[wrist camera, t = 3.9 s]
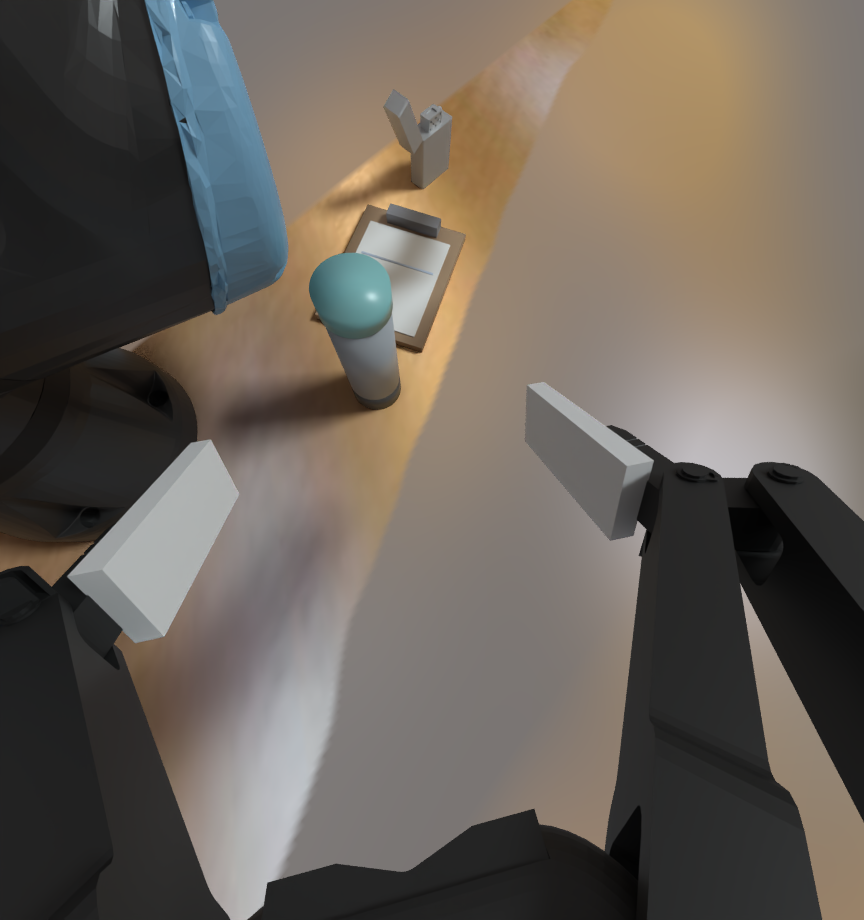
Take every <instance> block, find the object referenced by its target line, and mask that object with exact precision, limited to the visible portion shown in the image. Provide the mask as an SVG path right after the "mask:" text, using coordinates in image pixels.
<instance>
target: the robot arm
mask: <svg viewBox="0 0 864 920" xmlns="http://www.w3.org/2000/svg"><path fill="white" fill-rule="evenodd" d="M287 258H288V239H287V232H286V226H285V221H284V216H283V212H282V208H281V204H280V200H279V196H278V192H277V188H276V185H275V181H274V178H273V174H272V170H271V167H270V164H269V160H268V157H267V153H266V150H265V147H264V143H263V140H262V137H261V134H260V131H259V127H258V124H257V121H256V118H255V115H254V112H253V109H252V105H251V102H250V100H249V96H248V93H247V90H246V87H245V84H244V81H243V78H242V75H241V73H240V70H239V67H238V64H237V61H236V59H235V56H234V53H233V50H232V47H231V44H230V42H229V39H228V37H227V36H226V34H225V32H224V31H223V30H222V28H221V26H220V24H219V22H218V14H217V10H216V7H215V5H214V2H213V0H0V532H2V533H5V534H8V535H11V536H14V537H17V538H22V539H27V540H33V541H42V542H85V541H93V540H95V541H94V544H93V545H91V546H90V547H89V548H88V549H87V550H86V551H85V552H84V555H81V556H80V557H79V558H78V559H77V561H76V562H75V563H74V564H73V565H72V566H71V567H70V568H69V569H68V570H67V571H66V572H65V573H64V574H63V575H62V576H61V578H60V579H59V580H58V581H57V582H56V583H55V584H54V585H53V586H52V587H51V586H50V585H49V584H48V583H47V582H46V581H45V580H43V579H42V578H41V577H40V576H39V575H38V574H37V573H36V572H35V571H34V570H33V569H31V568H30V567H29V566H19V567H15V568H11V569H7V570H5V571H2V572H0V920H230V918H229V917H228V915H227V913H226V912H225V911H224V910H223V909H222V907H221V906H220V905H219V904H218V903H217V901H216V900H215V899H214V897H213V895H212V894H211V892H210V890H209V888H208V885H207V883H206V880H205V878H204V875H203V872H202V869H201V867H200V864H199V861H198V858H197V856H196V853H195V850H194V848H193V845H192V842H191V839H190V837H189V834H188V831H187V828H186V826H185V823H184V820H183V818H182V815H181V812H180V809H179V807H178V804H177V801H176V798H175V796H174V793H173V790H172V787H171V785H170V782H169V779H168V777H167V774H166V771H165V768H164V766H163V763H162V760H161V757H160V755H159V752H158V749H157V747H156V744H155V741H154V738H153V736H152V733H151V730H150V727H149V725H148V722H147V719H146V716H145V714H144V711H143V708H142V706H141V703H140V700H139V697H138V695H137V692H136V689H135V686H134V684H133V681H132V678H131V676H130V673H129V670H128V667H127V665H126V662H125V659H124V656H123V654H122V651H121V650H120V649H119V648H118V647H117V646H115V645H114V642H115V641H116V639H117V638H118V636H119V634H120V633H121V631H123V632H124V633H125V634H126V635H127V636H128V637H130V638H131V639H132V640H133V641H134V642H135V643H138V642H142V641H147V640H152V639H156V638H161V637H164V636H165V635H166V633H167V631H168V629H169V627H170V625H171V623H172V621H173V619H174V617H175V616H176V614H177V612H178V610H179V608H180V606H181V604H182V602H183V600H184V598H185V596H186V595H187V593H188V591H189V589H190V587H191V585H192V583H193V581H194V579H195V577H196V576H197V574H198V572H199V570H200V568H201V566H202V564H203V562H204V560H205V558H206V557H207V555H208V553H209V551H210V549H211V547H212V545H213V543H214V541H215V539H216V538H217V536H218V534H219V532H220V530H221V528H222V526H223V524H224V522H225V520H226V519H227V517H228V515H229V513H230V511H231V509H232V507H233V505H234V503H235V501H236V499H237V498H238V496H239V492H238V491H237V489H236V487H235V485H234V483H233V481H232V479H231V477H230V475H229V473H228V471H227V469H226V468H225V466H224V464H223V462H222V460H221V458H220V456H219V454H218V452H217V450H216V448H215V447H214V445H213V443H212V441H211V439H210V440H204V441H199V442H197V421H196V415H195V411H194V408H193V405H192V403H191V401H190V398H189V397H188V395H187V393H186V392H185V390H184V389H183V387H182V386H181V385H180V384H179V383H178V382H177V381H176V380H175V379H174V378H173V377H172V376H170V375H169V374H168V373H166V372H165V371H163V370H162V369H160V368H159V367H157V366H156V365H154V364H153V363H151V362H150V361H148V360H147V359H145V358H143V357H141V356H139V355H137V354H135V353H132V352H130V351H127V350H124V349H121V348H119V347H122V346H124V345H127V344H129V343H132V342H135V341H137V340H140V339H142V338H145V337H147V336H150V335H152V334H155V333H157V332H160V331H162V330H165V329H167V328H170V327H172V326H175V325H177V324H180V323H182V322H185V321H187V320H190V319H192V318H195V317H197V316H200V315H202V314H205V313H207V312H210V311H212V312H213V314H214V315H218V314H221V313H222V312H224V311H225V309H226V307H227V305H228V304H231V303H233V302H235V301H237V300H239V299H242V298H244V297H246V296H248V295H250V294H253V293H255V292H257V291H259V290H261V289H264V288H266V287H268V286H270V285H272V284H273V283H274V282H276V281H277V280H278V279H279V278H280V277H281V275H282V273H283V271H284V268H285V266H286V264H287ZM526 396H527V397H526V423H525V442H526V443H527V444H528V445H529V446H530V448H531V449H532V450H533V451H534V452H535V453H536V454H537V456H538V457H539V458H540V459H541V460H542V462H543V463H544V464H545V465H546V466H547V467H548V469H549V470H550V471H551V472H552V473H553V474H554V476H555V477H556V478H557V479H558V480H559V481H560V483H561V484H562V485H563V486H564V487H565V489H566V490H567V491H568V492H569V493H570V494H571V496H572V497H573V498H574V499H575V500H576V501H577V502H578V504H579V505H580V506H581V507H582V508H583V510H584V511H585V512H586V513H587V514H588V515H589V517H590V518H591V519H592V520H593V521H594V522H595V523H596V525H597V526H598V527H599V528H600V529H601V531H602V532H603V533H604V534H605V535H606V536H607V538H608V539H609V540H616V539H620V538H625V537H630V536H633V535H634V531H635V528H636V524H637V521H639V522H640V523H641V524H642V525H643V526H644V527H645V528H646V529H647V530H646V533H645V536H644V540H643V543H642V546H641V550H640V553H639V556H642V560H641V569H640V579H639V588H638V597H637V605H636V614H635V623H634V632H633V641H632V650H631V658H630V668H629V676H628V686H627V694H626V703H625V712H624V722H623V730H622V739H621V748H620V757H619V765H618V774H617V781H616V786H615V791H614V795H613V800H612V804H611V809H610V815H609V821H608V828H607V836H606V844H605V851H603V850H602V849H600V848H599V847H597V846H596V845H594V844H592V843H591V842H589V841H588V840H586V839H584V838H582V837H580V836H577V835H576V834H573V833H571V832H569V831H566V830H563V829H559V828H556V827H553V826H547V825H539V823H538V820H537V817H536V813H535V810H534V809H531V810H528V811H524V812H521V813H517V814H513V815H510V816H506V817H503V818H499V819H496V820H492V821H488V822H485V823H481V824H477V825H474V826H471V827H470V828H469V829H467V830H466V831H464V832H463V833H462V834H460V835H459V836H458V837H456V838H455V839H453V840H452V841H451V842H449V843H448V844H446V845H445V846H444V847H442V848H441V849H439V850H438V851H437V852H435V853H434V854H433V855H431V856H430V857H428V858H427V859H426V860H424V861H423V862H421V863H420V864H419V865H417V866H416V867H414V868H413V869H411V870H409V871H406V872H396V871H388V870H381V869H373V868H365V867H357V866H349V865H341V864H333V865H330V866H326V867H323V868H319V869H316V870H312V871H309V872H305V873H301V874H298V875H294V876H290V877H287V878H283V879H279V880H276V881H272V882H269V883H267V889H266V895H265V902H264V906H263V907H262V908H260V909H259V910H258V911H257V912H256V913H255V914H253V915H252V916H251V917H250V918H249V919H248V920H822V917H821V912H820V907H819V902H818V897H817V892H816V886H815V881H814V876H813V872H812V866H811V861H810V857H809V852H808V847H807V842H806V837H805V832H804V828H803V824H802V821H801V817H800V814H799V810H798V807H797V806H796V804H795V802H794V800H793V798H792V796H791V794H790V792H789V791H787V790H786V789H785V788H784V787H782V786H781V785H780V784H779V783H777V782H776V781H775V779H774V777H773V775H772V773H771V770H770V766H769V762H768V756H767V750H766V743H765V737H764V731H763V725H762V718H761V712H760V706H759V699H758V694H757V687H756V681H755V675H754V669H753V662H752V656H751V649H750V643H749V637H748V631H747V624H746V618H745V612H744V606H743V600H742V593H741V587H740V583H741V585H742V587H743V589H744V591H745V593H746V595H747V597H748V599H749V601H750V603H751V604H752V606H753V609H754V611H755V612H756V614H757V616H758V618H759V620H760V622H761V624H762V626H763V628H764V630H765V632H766V634H767V636H768V638H769V640H770V642H771V643H772V645H773V647H774V649H775V651H776V653H777V655H778V657H779V659H780V661H781V663H782V665H783V667H784V669H785V670H786V672H787V674H788V676H789V678H790V680H791V682H792V684H793V686H794V688H795V690H796V692H797V694H798V696H799V697H800V700H801V701H802V703H803V705H804V707H805V709H806V711H807V713H808V715H809V717H810V719H811V721H812V723H813V724H814V726H815V729H816V730H817V732H818V734H819V736H820V738H821V740H822V742H823V744H824V746H825V748H826V750H827V752H828V754H829V756H830V758H831V760H832V761H833V763H834V765H835V767H836V769H837V771H838V773H839V775H840V777H841V779H842V781H843V783H844V785H845V787H846V788H847V790H848V792H849V794H850V796H851V798H852V800H853V802H854V804H855V806H856V808H857V810H858V812H859V814H860V816H861V817H862V819H863V821H864V521H863V520H862V519H861V518H859V516H858V515H856V514H855V513H854V512H853V511H852V510H851V509H850V508H849V507H848V506H847V505H846V504H845V503H844V502H843V501H842V500H841V499H840V498H838V496H837V495H835V494H834V493H833V492H832V491H831V490H830V489H829V488H828V487H827V486H826V485H825V484H824V483H823V482H822V481H821V480H820V479H819V478H818V477H816V476H815V475H813V474H812V473H810V472H808V471H806V470H804V469H801V468H799V467H798V466H794V465H790V464H786V463H775V462H764V463H759V464H756V465H754V466H753V468H752V469H751V472H750V474H749V476H748V478H722V477H721V475H719V474H718V473H717V472H715V471H714V470H712V469H710V468H708V467H705V466H702V465H698V464H694V463H685V462H680V463H673V462H672V461H670V460H669V459H667V458H666V457H664V456H663V455H661V454H660V453H658V452H657V451H655V450H654V449H653V448H651V447H650V446H648V445H645V443H644V442H642V441H640V440H639V439H636V437H635V436H633V435H632V434H630V433H629V432H627V431H626V430H623V429H620V428H618V427H615V426H612V425H610V426H604V425H603V424H602V423H600V422H599V421H598V420H596V419H595V418H593V417H592V416H591V415H589V414H588V413H586V412H585V411H584V410H582V409H581V408H579V407H578V406H576V405H575V404H574V403H572V402H571V401H570V400H568V399H567V398H565V397H564V396H563V395H561V394H560V393H558V392H557V391H556V390H554V389H553V388H552V387H550V386H549V385H547V384H546V383H545V382H541V383H535V384H529V385H527V395H526Z"/></svg>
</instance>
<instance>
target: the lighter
mask: <svg viewBox="0 0 864 920" xmlns="http://www.w3.org/2000/svg"><path fill="white" fill-rule="evenodd" d="M384 110H385V112H386V114H387V116H388V119H389V121H390V123H391V126H392V128H393V130H394V132H395V135H396V137H397V139H398V141H399V144H400V145H401V146H402V147H403V148H404V149H406V150H407V151H408V152H410V153H411V182H413V183H414V184H415V185H417V186H418V187H420V188H421V189H424V188H426V187H427V186H428V185H429V184H430V183H431V182H433V181H434V180H435V179H436V178H437V177H439V176H440V175H441V174H442V173H443V172H444V171H446V170H447V169H448V165H449V152H450V139H451V126H452V116H450V115H449V114H447V113H446V112H444V111H443V110H442V107H440V106H436V105H434V104H432V105H431V106H430V107H428V108H427V109H426V110H425V111H423V112H422V113H421V114H420V123H419V124H418V125H417V122H416V119H415V117H414V114H413V111H412V108H411V105H410V102H409V101H408V99H407V98H405V97H404V96H403V95H401V94H400V93H398V92H397V91H395V90H393V91H392V93H391V94H390V96H389V98H388V100H387V101H386V103H385V105H384Z"/></svg>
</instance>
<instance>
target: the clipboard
mask: <svg viewBox="0 0 864 920" xmlns="http://www.w3.org/2000/svg"><path fill="white" fill-rule="evenodd" d="M465 236H466V234H463V233H460V232H457V231H453V230H450V229H447V228H443V227H441V219H440V218H437V217H434V216H430V215H427V214H424V213H420V212H417V211H414V210H410V209H407V208H404V207H401V206H397V205H394V204H390V206H389V208H388V210H384V209H381V208H378V207H374V206H371V205H367V207H366V209H365V211H364V213H363V216H362V218H361V220H360V222H359V224H358V226H357V228H356V230H355V232H354V234H353V236H352V238H351V240H350V242H349V244H348V247H347V249H346V251H345V253H360V254H364V255H367V256H370V257H372V258H373V259H375V260H377V261H378V262H379V263H380V264H381V265H382V266H383V267H384V268H385V270H386V271H387V273H388V275H389V278H390V283H391V292H392V301H393V310H392V316H393V325H394V333H395V342H396V344H398V345H401V346H404V347H407V348H410V349H413V350H416V351H420V352H422V351H423V348H424V346H425V343H426V340H427V338H428V335H429V332H430V330H431V327H432V325H433V322H434V319H435V317H436V314H437V312H438V309H439V306H440V304H441V301H442V298H443V296H444V293H445V291H446V288H447V285H448V283H449V280H450V278H451V275H452V272H453V270H454V267H455V264H456V262H457V259H458V257H459V254H460V251H461V249H462V246H463V244H464V241H465ZM315 316H316V318H317V319H320V318H319V315H318V313H317V311H316V313H315Z"/></svg>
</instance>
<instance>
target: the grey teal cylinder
mask: <svg viewBox="0 0 864 920" xmlns="http://www.w3.org/2000/svg"><path fill="white" fill-rule="evenodd" d="M309 293H310V297H311V299H312V302H313V304H314V306H315V309H316V311H317V313H318V315H319V318H320V320H321V322H322V323H323V325H324V326H325V327H326V329H327V331H328V334H329V336H330V338H331V341H332V343H333V345H334V348H335V350H336V352H337V354H338V357H339V359H340V361H341V364H342V366H343V368H344V371H345V373H346V375H347V377H348V380H349V382H350V384H351V387H352V389H353V391H354V394H355V396H356V398H357V400H358V401H359V402H360V403H361V404H362V405H363V406H365V407H367V408H370V409H376V410H378V409H384V408H387V407H389V406H391V405H392V404H393V403H394V402H395V401H396V400H397V399H398V397H399V395H400V391H401V384H400V376H399V367H398V359H397V350H396V342H395V333H394V325H393V316H392V310H393V301H392V292H391V283H390V278H389V275H388V273H387V271H386V270H385V268H384V267H383V266H382V265H381V264H380V263H379V262H378V261H377V260H375V259H373V258H372V257H370V256H367V255H364V254H360V253H342V254H338V255H335V256H332V257H330V258H328V259H326V260H325V261H324V262H322V263H321V264H320V265H319V266H318V267H317V268H316V269H315V271H314V273H313V274H312V277H311V279H310V284H309Z"/></svg>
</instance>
